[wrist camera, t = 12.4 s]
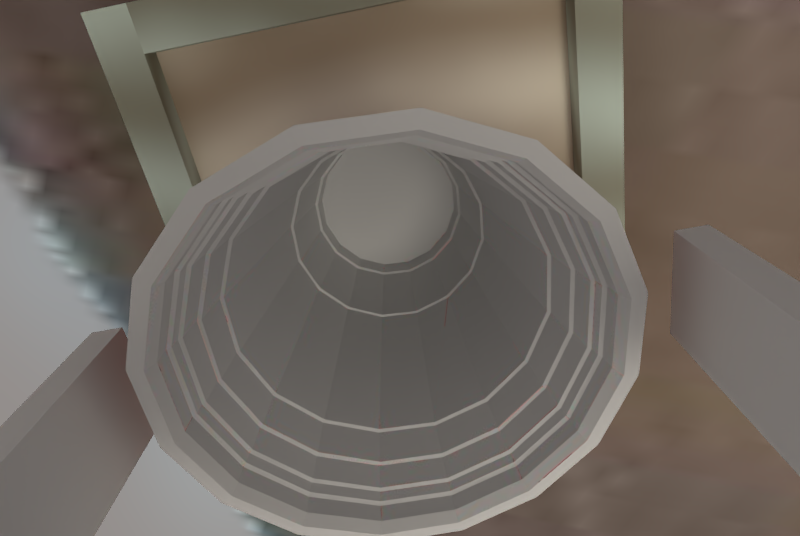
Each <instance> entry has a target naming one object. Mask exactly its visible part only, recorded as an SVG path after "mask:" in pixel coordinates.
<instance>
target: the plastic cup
mask: <svg viewBox="0 0 800 536" xmlns="http://www.w3.org/2000/svg"><path fill="white" fill-rule="evenodd" d="M647 298H648V291H647V289H646V286H645V283H644V281H643V278H642V275H641V273H640V270H639V268H638V265H637V262H636V260H635V257H634V255H633V252H632V249H631V247H630V244H629V241H628V239H627V236H626V234H625V231H624V228H623V226H622V223H621V220H620V218H619V215H618V213H617V210H616V208H615V207H613V206H612V205H611V204H610V203H609V202H608V201H607V200H605V199H604V198H603V197H602V196H601V195H600V194H599V193H597V192H596V191H595V190H594V189H593V188H592V187H591V186H589V185H588V184H587V183H586V182H585V181H584V180H583V179H581V178H580V177H579V176H578V175H577V174H576V173H575V172H573V171H572V170H571V169H570V168H569V167H568V166H567V165H565V164H564V163H563V162H562V161H561V160H560V159H559V158H557V157H556V156H555V155H554V154H553V153H552V152H551V151H549V150H548V149H547V148H546V147H545V146H544V145H543V144H541V143H540V142H539V141H538V140H535V139H532V138H528V137H525V136H521V135H518V134H514V133H510V132H507V131H503V130H500V129H496V128H493V127H489V126H485V125H482V124H478V123H475V122H471V121H468V120H464V119H460V118H457V117H453V116H450V115H446V114H443V113H439V112H435V111H432V110H428V109H425V108H414V109H407V110H400V111H393V112H385V113H378V114H371V115H364V116H356V117H349V118H342V119H334V120H327V121H320V122H313V123H305V124H298V125H293V126H292V127H290V128H288V129H287V130H285V131H283V132H282V133H280V134H278V135H277V136H275V137H273V138H272V139H270V140H269V141H267V142H265V143H264V144H262V145H260V146H259V147H257V148H255V149H254V150H252V151H251V152H249V153H247V154H246V155H244V156H242V157H241V158H239V159H237V160H236V161H234V162H233V163H231V164H229V165H228V166H226V167H224V168H223V169H221V170H219V171H218V172H216V173H214V174H213V175H211V176H210V177H208V178H206V179H205V180H203V181H201V182H200V183H198V184H196V185H195V186H193V187H192V188H190V189H189V190H188V192H187V193H186V195H185V197H184V198H183V200H182V201H181V203H180V204H179V206H178V207H177V209H176V211H175V212H174V214H173V215H172V217H171V218H170V220H169V222H168V223H167V225H166V226H165V228H164V229H163V231H162V232H161V234H160V236H159V237H158V239H157V240H156V242H155V243H154V245H153V246H152V248H151V250H150V251H149V253H148V254H147V256H146V257H145V259H144V260H143V262H142V264H141V265H140V267H139V268H138V270H137V271H136V273H135V275H134V276H133V278H132V286H131V300H130V314H129V329H128V343H127V357H126V372H127V375H128V377H129V379H130V381H131V383H132V386H133V388H134V390H135V392H136V395H137V397H138V399H139V401H140V404H141V406H142V408H143V410H144V413H145V415H146V417H147V419H148V422H149V424H150V426H151V428H152V431H153V433H154V435H155V437H156V439H157V442H158V443H159V446H160V448H161V449H162V450H163V451H165V452H166V453H167V454H168V455H169V456H170V457H171V458H172V459H173V460H175V461H176V462H177V463H178V464H179V465H180V466H181V467H182V468H183V469H185V470H186V471H187V472H188V473H189V474H190V475H191V476H192V477H194V479H196V480H197V481H198V482H199V483H200V484H201V485H202V486H203V487H205V488H206V489H207V490H208V491H209V492H210V493H211V494H212V495H213V496H214V497H216V498H217V499H218V500H219V501H220V502H221V503H223V504H225V505H228V506H230V507H233V508H235V509H237V510H240V511H242V512H245V513H247V514H250V515H252V516H254V517H257V518H259V519H262V520H264V521H266V522H269V523H271V524H274V525H276V526H279V527H281V528H283V529H286V530H288V531H291V532H293V533H296V534H298V535H307V536H429V535H436V534H442V533H448V532H455V531H461V530H464V529H466V528H468V527H471V526H473V525H475V524H477V523H479V522H482V521H484V520H486V519H488V518H491V517H493V516H495V515H497V514H500V513H502V512H504V511H506V510H509V509H511V508H513V507H515V506H518V505H520V504H522V503H524V502H527V501H529V500H531V499H533V498H536V497H537V496H538V495H540V494H541V493H542V492H543V491H544V490H545V489H547V488H548V487H549V486H550V485H551V484H552V483H554V482H555V481H556V480H557V479H558V478H559V477H561V476H562V475H563V474H564V473H565V472H567V471H568V470H569V469H570V468H571V467H572V466H574V465H575V464H576V463H577V462H578V461H579V460H581V459H582V458H583V457H584V456H585V455H586V454H588V453H589V452H590V451H591V450H592V449H593V448H595V447H596V446H597V445H598V444H599V442H600V441H601V439H602V437H603V435H604V434H605V432H606V430H607V428H608V427H609V425H610V423H611V422H612V420H613V418H614V416H615V415H616V413H617V411H618V410H619V408H620V406H621V404H622V403H623V401H624V399H625V397H626V396H627V394H628V392H629V391H630V389H631V387H632V385H633V384H634V382H635V380H636V379H637V377H638V375H639V368H640V359H641V350H642V342H643V333H644V324H645V315H646V307H647Z"/></svg>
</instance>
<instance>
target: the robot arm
mask: <svg viewBox="0 0 800 536" xmlns="http://www.w3.org/2000/svg"><path fill="white" fill-rule="evenodd" d="M670 334H671V335H672V336H673V337H674V338H675V339H676V340H677V341H678V342H679V344H680V345H681V346H682V347H683V348H684V349H685V350H686V351H687V352H688V354H689V355H690V356H691V357H692V358H693V359H694V360H695V361H696V362H697V363H698V365H699V366H700V367H701V368H702V369H703V370H704V371H705V372H706V373H707V375H708V376H709V377H710V378H711V379H712V380H713V381H714V382H715V383H716V384H717V386H718V387H719V388H720V389H721V390H722V391H723V392H724V393H725V394H726V395H727V397H728V398H729V399H730V400H731V401H732V402H733V403H734V404H735V405H736V407H737V408H738V409H739V410H740V411H741V412H742V413H743V414H744V415H745V416H746V418H747V419H748V420H749V421H750V422H751V423H752V424H753V425H754V426H755V428H756V429H757V430H758V431H759V432H760V433H761V434H762V435H763V436H764V437H765V439H766V440H767V441H768V442H769V443H770V444H771V445H772V446H773V447H774V449H775V450H776V451H777V452H778V453H779V454H780V455H781V456H782V457H783V458H784V460H785V461H786V462H787V463H788V464H789V465H790V466H791V467H792V468H793V469H794V471H795V472H796V473H797V474H798V475H799V476H800V282H799V281H797V280H796V279H794V278H793V277H791V276H789V275H788V274H786V273H785V272H783V271H782V270H780V269H778V268H777V267H775V266H774V265H772V264H770V263H769V262H767V261H766V260H764V259H762V258H761V257H759V256H758V255H756V254H754V253H753V252H751V251H750V250H748V249H746V248H745V247H743V246H742V245H740V244H738V243H737V242H735V241H734V240H732V239H731V238H729V237H727V236H726V235H724V234H723V233H721V232H719V231H718V230H716V229H715V228H713V227H711V226H710V225H704V226H699V227H693V228H687V229H681V230H676V231H674V243H673V271H672V299H671V327H670ZM127 343H128V339H127V337H126V335H125V333H124V331H123V329H122V328H116V329H110V330H105V331H99V332H93V333H91V334H90V335H89V336H88V338H86V339H85V340H84V341H83V343H82V344H81V345H80V346H79V347H78V348H77V349H76V350H75V351H74V352H73V353H72V354H71V355H70V356H69V357H68V358H67V359H66V360H65V361H64V362H63V363H62V364H61V365H60V366H59V367H58V368H57V369H56V370H55V371H54V372H53V373H52V374H51V375H50V377H48V378H47V380H45V382H43V384H41V385H40V387H38V389H37V390H36V391H35V392H34V393H33V394H32V395H31V396H30V397H29V398H28V399H27V400H26V401H25V402H24V403H23V404H22V405H21V406H20V407H19V408H18V409H17V410H16V411H15V412H14V413H13V414H12V415H11V416H10V417H9V418H8V419H7V421H5V422H4V423H3V424H2V425H1V427H0V536H94V535H95V534H96V532H97V530H98V528H99V527H100V525H101V523H102V522H103V520H104V518H105V516H106V515H107V513H108V511H109V510H110V508H111V506H112V504H113V503H114V501H115V499H116V498H117V496H118V494H119V493H120V491H121V489H122V487H123V486H124V484H125V482H126V481H127V479H128V477H129V475H130V474H131V472H132V470H133V469H134V467H135V465H136V463H137V462H138V460H139V458H140V457H141V455H142V453H143V451H144V450H145V448H146V446H147V445H148V443H149V441H150V439H151V438H152V436H153V434H154V433H153V431H152V428H151V426H150V424H149V422H148V419H147V417H146V415H145V413H144V410H143V408H142V406H141V404H140V401H139V399H138V397H137V395H136V392H135V390H134V388H133V386H132V383H131V381H130V379H129V377H128V375H127V372H126V357H127Z"/></svg>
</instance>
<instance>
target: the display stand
mask: <svg viewBox="0 0 800 536" xmlns="http://www.w3.org/2000/svg"><path fill="white" fill-rule="evenodd" d="M81 16H82V18H83V21H84V23H85V26H86V28H87V31H88V33H89V36H90V38H91V41H92V43H93V46H94V48H95V51H96V53H97V56H98V58H99V61H100V63H101V66H102V69H103V71H104V74H105V76H106V79H107V81H108V84H109V86H110V89H111V91H112V94H113V96H114V99H115V101H116V104H117V106H118V109H119V111H120V114H121V116H122V119H123V121H124V124H125V126H126V129H127V131H128V134H129V136H130V139H131V141H132V144H133V146H134V149H135V151H136V154H137V156H138V159H139V161H140V164H141V166H142V169H143V171H144V174H145V176H146V179H147V181H148V184H149V186H150V189H151V191H152V194H153V196H154V199H155V201H156V204H157V207H158V209H159V212H160V214H161V217H162V219H163V222H164V224H165V226H166V225H167V223H168V222H169V220H170V218H171V217H172V215H173V214H174V212H175V211H176V209H177V207H178V206H179V204H180V203H181V201H182V200H183V198H184V197H185V195H186V193H187V192H188V190H189V189H190V188H192V187H193V186H195V185H196V184H198V183H200V182H201V181H203V180H205V179H206V178H208V177H210V176H211V175H213V174H214V173H216V172H218V171H219V170H221V169H223V168H224V167H226V166H228V165H229V164H231V163H233V162H234V161H236V160H237V159H239V158H241V157H242V156H244V155H246V154H247V153H249V152H251V151H252V150H254V149H255V148H257V147H259V146H260V145H262V144H264V143H265V142H267V141H269V140H270V139H272V138H273V137H275V136H277V135H278V134H280V133H282V132H283V131H285V130H287V129H288V128H290V127H292V126H293V125H298V124H305V123H313V122H320V121H327V120H334V119H342V118H349V117H356V116H364V115H371V114H378V113H385V112H393V111H400V110H407V109H414V108H425V109H428V110H432V111H435V112H439V113H443V114H446V115H450V116H453V117H457V118H460V119H464V120H468V121H471V122H475V123H478V124H482V125H485V126H489V127H493V128H496V129H500V130H503V131H507V132H510V133H514V134H518V135H521V136H525V137H528V138H532V139H535V140H538V141H539V142H540V143H541V144H543V145H544V146H545V147H546V148H547V149H548V150H549V151H551V152H552V153H553V154H554V155H555V156H556V157H557V158H559V159H560V160H561V161H562V162H563V163H564V164H565V165H567V166H568V167H569V168H570V169H571V170H572V171H573V172H575V173H576V174H577V175H578V176H579V177H580V178H581V179H583V180H584V181H585V182H586V183H587V184H588V185H589V186H591V187H592V188H593V189H594V190H595V191H596V192H597V193H599V194H600V195H601V196H602V197H603V198H604V199H605V200H607V201H608V202H609V203H610V204H611V205H612V206H613V207H615V208H616V210H617V213H618V215H619V218H620V220H621V223H622V226H623V228H624V231H625V210H624V99H623V0H137V1H133V2H128V3H123V4H119V5H114V6H109V7H105V8H100V9H96V10H91V11H86V12H82V13H81Z"/></svg>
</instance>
